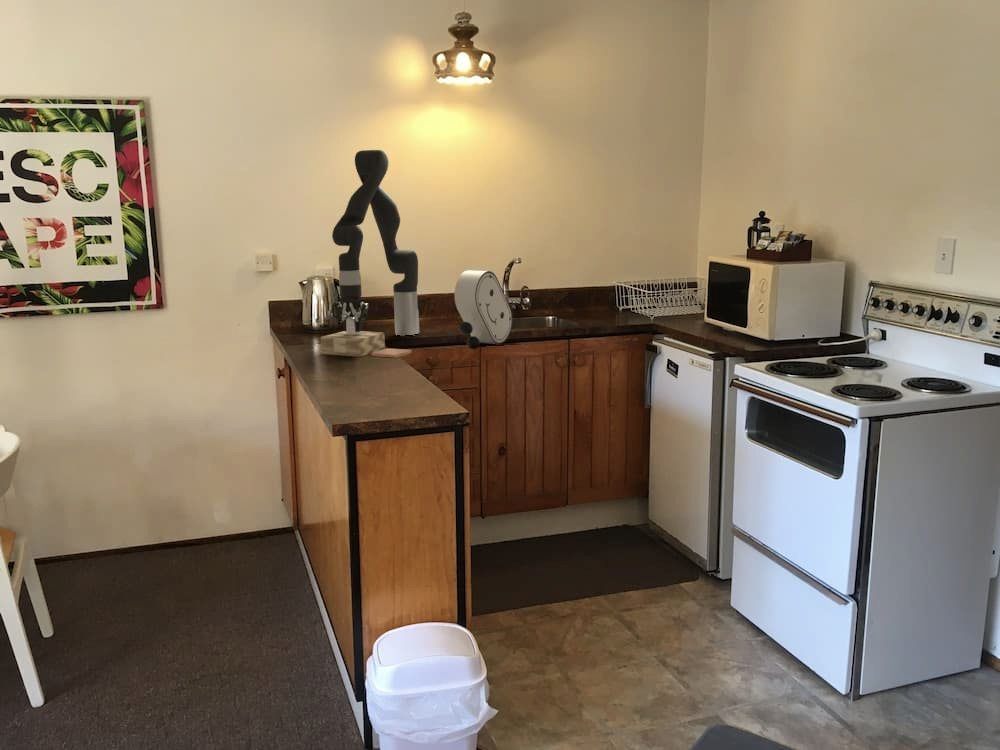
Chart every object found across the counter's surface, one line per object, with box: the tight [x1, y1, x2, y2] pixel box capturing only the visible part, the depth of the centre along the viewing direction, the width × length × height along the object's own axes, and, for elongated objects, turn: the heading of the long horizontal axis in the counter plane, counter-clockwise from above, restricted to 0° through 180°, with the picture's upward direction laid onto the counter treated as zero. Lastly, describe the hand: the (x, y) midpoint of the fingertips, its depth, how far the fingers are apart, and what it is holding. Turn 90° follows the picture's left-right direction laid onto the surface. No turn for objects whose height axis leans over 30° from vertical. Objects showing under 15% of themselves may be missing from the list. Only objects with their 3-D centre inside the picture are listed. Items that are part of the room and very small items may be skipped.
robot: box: [454, 269, 513, 350], centre depth 312 cm, size 30×9×24 cm
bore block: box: [320, 330, 386, 358], centre depth 308 cm, size 16×16×6 cm
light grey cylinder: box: [346, 316, 359, 336], centre depth 307 cm, size 4×4×11 cm
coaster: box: [370, 347, 412, 359], centre depth 302 cm, size 10×10×1 cm
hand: (352, 331), depth 307 cm, fingers closed on light grey cylinder, 4 cm apart
